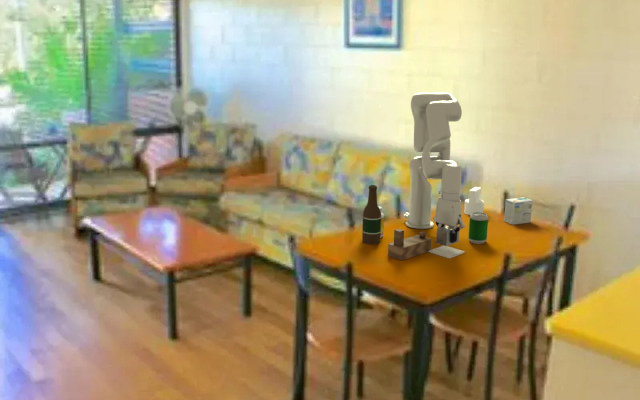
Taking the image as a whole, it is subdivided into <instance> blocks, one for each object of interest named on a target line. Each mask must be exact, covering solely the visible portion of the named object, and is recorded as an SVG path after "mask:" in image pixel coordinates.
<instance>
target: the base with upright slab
mask: <svg viewBox="0 0 640 400" xmlns="http://www.w3.org/2000/svg"><path fill="white" fill-rule="evenodd" d="M468 191H469V192H468V193H469V194H468V198H466V199H465V200H464V207H463V208H464V210H463V213H464V214H465V215H467V216H470V215H471V214H472V213H475V212H481V213H484V206H485V201H484V200H483V199H481V194H482V187H480V186H474V187H473V188H471V189H469V190H468Z"/></svg>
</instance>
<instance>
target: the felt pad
mask: <svg viewBox="0 0 640 400" xmlns="http://www.w3.org/2000/svg"><path fill="white" fill-rule="evenodd" d="M428 253H431V254H433V255H437V256H440V257H444V258H445V259H446V258H447V259H452V258H455V257H457V256H460V255H462V254H465V253H466V252H465V251H464V250H460V249H457V248H455V247H451V246H449V245H448V246H444V245H440V246H439V247H438V246H437V247H436V248H433V249H432V248H431V250H429V251H428Z"/></svg>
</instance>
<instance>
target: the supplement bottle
mask: <svg viewBox="0 0 640 400" xmlns="http://www.w3.org/2000/svg"><path fill="white" fill-rule="evenodd" d="M378 207H379V209H380V212H381V235H380V239H381V238H382V237H383V236H384V231H385V228H384V227H385V224H384V223H385V214H384V213H383V212H382V211H383V207H382V206H380V205H378Z"/></svg>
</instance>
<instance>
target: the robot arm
mask: <svg viewBox="0 0 640 400" xmlns="http://www.w3.org/2000/svg"><path fill="white" fill-rule="evenodd" d="M461 106H462V105H461V104H460V101H458V99H457V98H456V97H455V96H454V95H453V94H452V93H451V92H432V91H431V92H418V93H414V94H413V95H412V97H411V100H410V109H411V113H412V117H413V123H414V124H413V149H414V151H415V152H416V153H419V154H421V155H419V156H415V157H413V158H411V160H410V161H409V174H410V194H409V195H410V196H409V212H406V211H405V213H403V216H402V217H403V218H406V219H407V220H406V221H405V226H407V227H408V228H410V229H411V228H412V229H417V230H418V229H419V230H425V229H430V228H431V229H432V228H433V227H434V223H435V225H436V226H437V228H441V227H444V226H447V225H448V226H451V228H452V233H451V241H450V242H451V243H453V242H456V241H457V232H459V233H460V231H461V230H462V229H464V228H465V227H466V225H465V223H464V221H463V207H462V204H463V203H462V200H461V186H462V166H461V165H459V163H458V161H456V160H453V159H452V160H451V137H452V135H451V129H450V122H458V121H460V120H461V119H462V116H463V115H462V114H463V113H462V112H463V110H462V107H461ZM431 154H437V155H431ZM429 180H440V181H441V183H440V190H439V191H438V194H439V196H440V197H438V199H437V202H436V207H435V215H434V217H433V218H432V201H433V200H432V199H433V186H432V184H431V183H430V181H429ZM431 219H432V220H433V221H431Z"/></svg>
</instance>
